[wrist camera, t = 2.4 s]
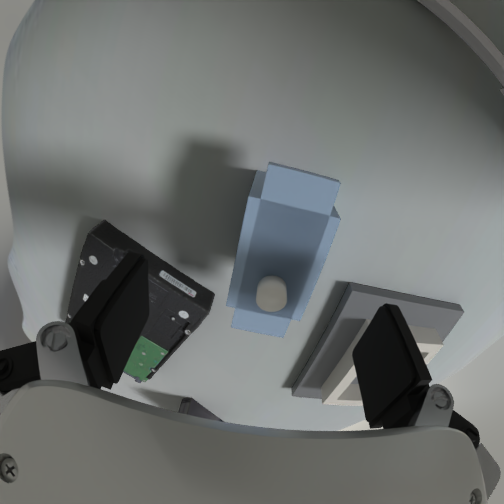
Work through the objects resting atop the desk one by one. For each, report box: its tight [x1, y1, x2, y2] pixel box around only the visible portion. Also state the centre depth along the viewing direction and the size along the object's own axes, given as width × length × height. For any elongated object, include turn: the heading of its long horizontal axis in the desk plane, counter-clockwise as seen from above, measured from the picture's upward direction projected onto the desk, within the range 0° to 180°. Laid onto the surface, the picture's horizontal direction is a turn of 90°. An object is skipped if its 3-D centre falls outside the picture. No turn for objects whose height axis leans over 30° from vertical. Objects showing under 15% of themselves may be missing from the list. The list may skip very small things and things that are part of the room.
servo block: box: [226, 162, 341, 338], centre depth 14 cm, size 4×9×6 cm, turn 168°
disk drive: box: [65, 220, 215, 383], centre depth 21 cm, size 10×3×15 cm
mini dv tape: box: [179, 398, 224, 422], centre depth 28 cm, size 8×2×6 cm, turn 30°
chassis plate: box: [292, 282, 464, 406], centre depth 21 cm, size 12×14×3 cm
